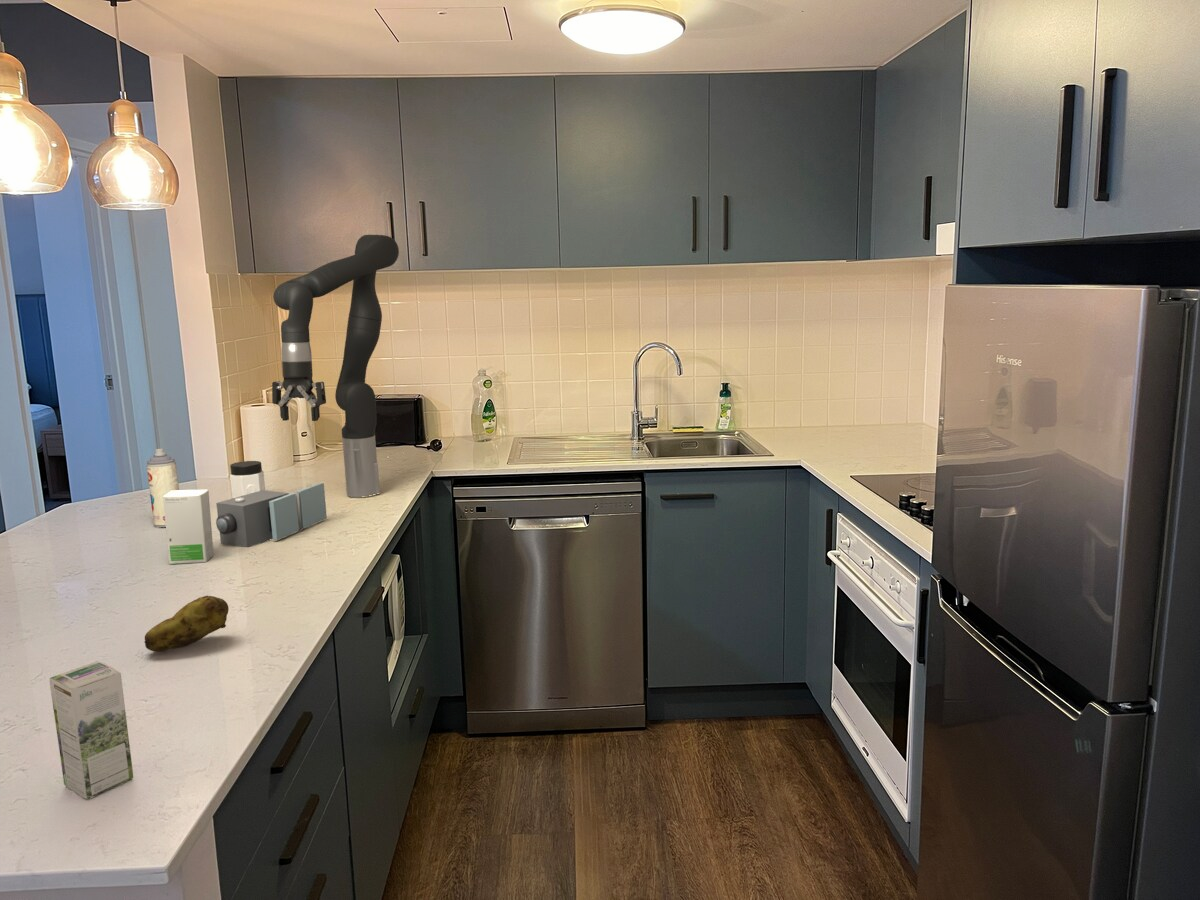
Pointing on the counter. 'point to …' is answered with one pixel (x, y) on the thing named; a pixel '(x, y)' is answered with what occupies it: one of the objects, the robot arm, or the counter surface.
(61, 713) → the syrup box
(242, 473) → the jar
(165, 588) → the counter surface
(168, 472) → the aerosol can
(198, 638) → the potato
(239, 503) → the block
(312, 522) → the side door
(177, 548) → the skincare box
